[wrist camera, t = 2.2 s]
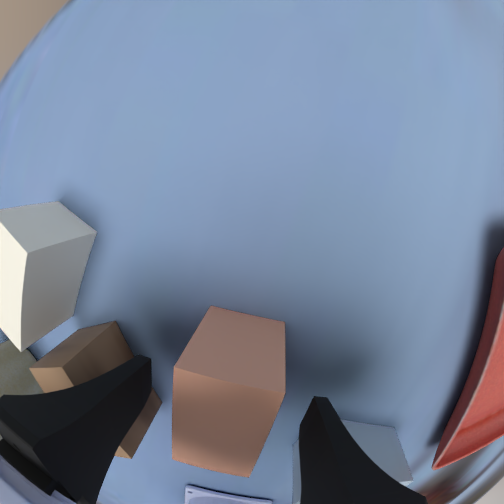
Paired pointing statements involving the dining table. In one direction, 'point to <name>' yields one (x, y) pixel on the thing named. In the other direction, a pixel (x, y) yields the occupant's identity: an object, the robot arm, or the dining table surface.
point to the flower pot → (16, 371)
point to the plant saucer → (480, 387)
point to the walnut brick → (94, 372)
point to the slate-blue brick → (374, 445)
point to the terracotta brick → (227, 391)
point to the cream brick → (40, 268)
